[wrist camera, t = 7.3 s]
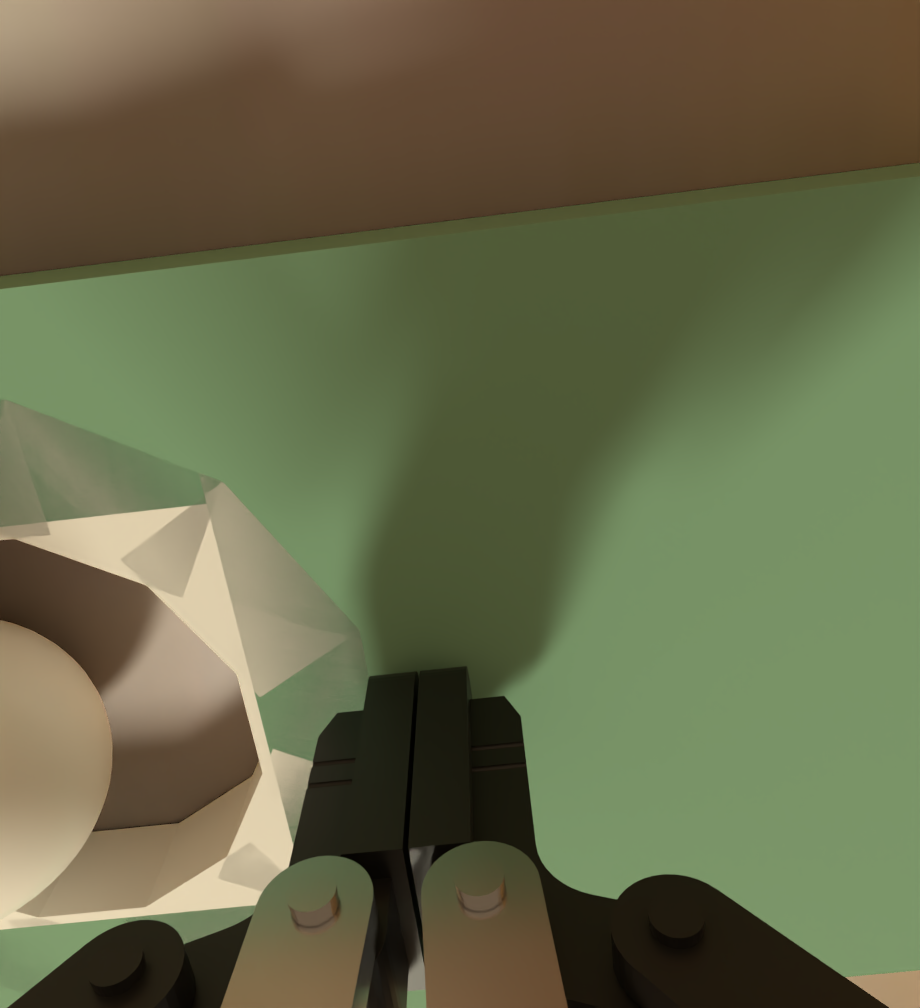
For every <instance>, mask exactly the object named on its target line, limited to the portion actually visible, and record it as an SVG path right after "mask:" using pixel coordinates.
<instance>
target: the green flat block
mask: <svg viewBox="0 0 920 1008" xmlns="http://www.w3.org/2000/svg"><path fill="white" fill-rule="evenodd" d="M9 539H16V540H19V541H22V542H24V543H27V544H30V545H33V546H36V547H39V548H41V549H44V550H47V551H50V552H53V553H56V554H59V555H61V556H64V557H67V558H70V559H73V560H76V561H78V562H81V563H84V564H87V565H90V566H93V567H95V568H98V569H101V570H104V571H107V572H110V573H112V574H115V575H118V576H121V577H124V578H127V579H130V580H132V581H135V582H138V583H141V584H144V585H147V586H148V587H149V588H150V589H151V590H152V591H153V592H154V593H155V594H156V595H157V596H158V597H159V598H160V599H161V600H162V601H163V602H164V603H165V604H166V605H167V606H168V607H169V608H170V609H171V610H172V611H173V612H174V613H175V614H176V615H177V616H178V617H179V618H180V619H181V620H182V621H183V622H184V623H185V624H186V625H187V626H188V627H189V628H190V629H191V630H192V631H193V632H194V633H195V634H196V635H197V636H198V637H199V638H200V639H201V640H202V641H203V642H204V643H206V644H207V645H208V646H209V647H210V648H211V649H212V650H213V651H214V652H215V653H216V654H217V655H218V656H219V657H220V658H221V659H222V660H223V661H224V662H225V663H226V664H227V665H228V666H229V667H230V668H231V669H232V670H233V671H234V672H235V673H236V674H237V678H238V681H239V685H240V689H241V693H242V697H243V700H244V704H245V708H246V712H247V716H248V720H249V723H250V727H251V731H252V735H253V739H254V743H255V746H256V750H257V754H258V758H259V761H258V763H257V766H256V768H255V770H254V773H253V775H252V776H251V777H250V778H248V779H247V780H245V781H244V782H242V783H241V784H239V785H238V786H236V787H234V788H233V789H231V790H230V791H228V792H227V793H225V794H224V795H222V796H220V797H219V798H217V799H216V800H214V801H213V802H211V803H210V804H208V805H206V806H205V807H203V808H202V809H200V810H199V811H197V812H196V813H194V814H192V815H191V816H189V817H188V818H186V819H185V820H183V821H182V822H180V823H175V824H165V825H155V826H146V827H136V828H126V829H116V830H106V831H96V832H91V834H90V835H89V837H88V839H87V840H86V842H85V844H84V845H83V847H82V848H81V850H80V851H79V852H78V854H77V855H76V857H75V858H74V859H73V860H72V862H71V863H70V864H69V865H68V866H67V867H66V869H65V870H64V871H63V872H62V873H61V874H60V875H59V876H58V877H57V878H56V879H55V880H54V881H53V882H52V883H51V884H50V885H49V886H48V887H46V888H45V889H44V890H43V891H42V892H41V893H39V894H38V895H37V896H36V897H35V898H33V899H32V900H30V901H29V902H28V903H26V904H25V905H23V906H22V907H21V908H19V909H17V910H16V911H14V912H12V913H11V914H9V915H7V916H6V917H4V918H2V919H0V1008H7V1007H9V1006H10V1005H11V1004H12V1003H14V1002H15V1001H16V1000H17V999H19V998H20V997H21V996H22V995H24V994H25V993H26V992H27V991H29V990H30V989H31V988H32V987H33V986H35V985H36V984H37V983H38V982H40V981H41V980H42V979H43V978H45V977H46V976H47V975H48V974H50V973H51V972H52V971H53V970H55V969H56V968H57V967H58V966H60V965H61V964H62V963H63V962H64V961H66V960H67V959H68V958H69V957H71V956H72V955H73V954H74V953H76V952H77V951H78V950H79V949H81V948H82V947H83V946H84V945H86V944H87V943H88V942H90V941H91V940H92V939H94V938H95V937H97V936H98V935H100V934H102V933H103V932H105V931H107V930H109V929H111V928H113V927H116V926H118V925H121V924H124V923H127V922H132V921H137V920H156V921H161V922H164V923H167V924H168V925H170V926H172V927H173V928H174V929H175V930H176V931H177V932H178V933H179V935H180V936H181V938H182V940H183V943H184V944H186V943H188V942H191V941H194V940H196V939H199V938H202V937H204V936H207V935H210V934H212V933H215V932H218V931H221V930H223V929H226V928H228V927H231V926H233V925H235V924H238V923H239V922H241V921H243V920H245V919H246V918H248V917H250V916H251V915H253V913H254V910H255V907H256V904H257V902H258V900H259V897H260V895H261V894H262V892H263V891H264V889H265V887H266V886H267V885H268V884H269V883H270V882H271V881H272V879H274V878H275V877H276V876H277V875H278V874H279V873H281V872H282V871H284V870H285V869H287V868H288V867H289V863H290V859H291V854H292V850H293V845H294V841H295V837H296V832H297V828H298V824H299V819H300V815H301V810H302V806H303V802H304V797H305V793H306V789H308V780H309V776H310V771H311V767H313V758H314V754H315V749H316V745H317V741H318V736H319V735H320V734H321V733H322V731H323V730H324V729H325V728H326V726H327V725H328V724H329V723H330V721H331V720H332V719H333V718H334V716H335V715H336V714H337V713H340V712H350V711H360V710H363V709H364V703H365V696H366V690H367V684H368V679H369V677H370V676H375V675H385V674H395V673H405V672H415V671H417V672H418V675H419V674H420V671H423V670H433V669H442V668H452V667H462V666H467V667H468V672H469V679H470V687H471V694H472V699H478V698H488V697H498V696H505V697H506V698H507V700H508V701H509V702H510V703H511V705H512V706H513V707H514V708H515V710H516V711H517V712H518V713H519V715H520V716H521V722H522V730H523V739H524V747H525V756H526V765H527V773H528V782H529V790H530V799H531V807H532V816H533V824H534V833H535V841H536V847H537V852H538V855H539V857H540V859H541V861H542V863H543V864H544V866H545V867H546V869H547V870H548V871H549V872H550V873H551V874H552V875H553V876H554V877H555V878H557V879H558V880H559V881H561V882H562V883H564V884H566V885H567V886H569V887H571V888H573V889H576V890H578V891H581V892H584V893H588V894H592V895H597V896H602V897H607V898H612V899H618V897H619V896H620V895H621V894H622V892H623V891H624V890H625V889H626V888H628V887H629V886H631V885H632V884H633V883H635V882H637V881H639V880H641V879H644V878H647V877H651V876H655V875H662V874H676V875H683V876H688V877H692V878H695V879H698V880H700V881H703V882H705V883H707V884H709V885H711V886H712V887H714V888H716V889H717V890H719V891H720V892H722V893H723V894H725V895H726V896H728V897H729V898H730V899H732V900H733V901H735V902H736V903H738V904H739V905H741V906H742V907H743V908H745V909H746V910H748V911H749V912H751V913H752V914H754V915H755V916H757V917H758V918H759V919H761V920H762V921H764V922H765V923H767V924H768V925H770V926H771V927H773V928H774V929H775V930H777V931H778V932H780V933H781V934H783V935H784V936H786V937H787V938H789V939H790V940H791V941H793V942H794V943H796V944H797V945H799V946H800V947H802V948H803V949H804V950H806V951H807V952H809V953H810V954H812V955H813V956H815V957H816V958H818V959H819V960H820V961H822V962H823V963H825V964H826V965H828V966H829V967H831V968H832V969H834V970H835V971H836V972H838V973H839V974H841V975H842V976H844V977H851V976H862V975H873V974H884V973H895V972H905V971H916V970H920V163H913V164H905V165H897V166H889V167H881V168H873V169H865V170H856V171H848V172H840V173H832V174H824V175H816V176H808V177H800V178H792V179H784V180H775V181H767V182H759V183H751V184H743V185H735V186H727V187H719V188H711V189H703V190H694V191H686V192H678V193H670V194H662V195H654V196H646V197H638V198H630V199H622V200H613V201H605V202H597V203H589V204H581V205H573V206H565V207H557V208H549V209H541V210H532V211H524V212H516V213H508V214H500V215H492V216H484V217H476V218H468V219H459V220H451V221H443V222H435V223H427V224H419V225H411V226H403V227H395V228H387V229H378V230H370V231H362V232H354V233H346V234H338V235H330V236H322V237H314V238H306V239H297V240H289V241H281V242H273V243H265V244H257V245H249V246H241V247H233V248H225V249H216V250H208V251H200V252H192V253H184V254H176V255H168V256H160V257H152V258H144V259H135V260H127V261H119V262H111V263H103V264H95V265H87V266H79V267H71V268H63V269H54V270H46V271H38V272H30V273H22V274H14V275H6V276H0V540H9ZM407 1008H426V990H416V991H407Z"/></svg>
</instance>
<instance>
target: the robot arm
mask: <svg viewBox="0 0 920 1008" xmlns="http://www.w3.org/2000/svg"><path fill="white" fill-rule="evenodd" d="M416 990H426V1008H889V1007H887V1006H886V1005H884V1004H883V1003H881V1002H880V1001H879V1000H877V999H876V998H874V997H873V996H871V995H870V994H868V993H867V992H865V991H864V990H863V989H861V988H860V987H858V986H857V985H855V984H854V983H852V982H851V981H849V980H848V979H847V978H845V977H844V976H842V975H841V974H839V973H838V972H836V971H835V970H834V969H832V968H831V967H829V966H828V965H826V964H825V963H823V962H822V961H820V960H819V959H818V958H816V957H815V956H813V955H812V954H810V953H809V952H807V951H806V950H804V949H803V948H802V947H800V946H799V945H797V944H796V943H794V942H793V941H791V940H790V939H789V938H787V937H786V936H784V935H783V934H781V933H780V932H778V931H777V930H775V929H774V928H773V927H771V926H770V925H768V924H767V923H765V922H764V921H762V920H761V919H759V918H758V917H757V916H755V915H754V914H752V913H751V912H749V911H748V910H746V909H745V908H743V907H742V906H741V905H739V904H738V903H736V902H735V901H733V900H732V899H730V898H729V897H728V896H726V895H725V894H723V893H722V892H720V891H719V890H717V889H716V888H714V887H712V886H711V885H709V884H707V883H705V882H703V881H700V880H698V879H695V878H692V877H688V876H683V875H676V874H662V875H655V876H651V877H647V878H644V879H641V880H639V881H637V882H635V883H633V884H632V885H631V886H629V887H628V888H626V889H625V890H624V891H623V892H622V894H621V895H620V896H619V897H618V899H612V898H607V897H602V896H597V895H592V894H588V893H584V892H581V891H578V890H576V889H573V888H571V887H569V886H567V885H566V884H564V883H562V882H561V881H559V880H558V879H557V878H555V877H554V876H553V875H552V874H551V873H550V872H549V871H548V870H547V869H546V867H545V866H544V864H543V863H542V861H541V859H540V857H539V855H538V852H537V847H536V841H535V833H534V824H533V816H532V807H531V799H530V790H529V782H528V773H527V765H526V756H525V747H524V739H523V730H522V722H521V716H520V715H519V713H518V712H517V711H516V710H515V708H514V707H513V706H512V705H511V703H510V702H509V701H508V700H507V698H506V697H505V696H498V697H488V698H478V699H472V694H471V687H470V679H469V672H468V667H467V666H462V667H452V668H442V669H433V670H423V671H420V674H419V675H418V672H417V671H415V672H405V673H395V674H385V675H375V676H370V677H369V679H368V684H367V690H366V696H365V703H364V709H363V710H360V711H350V712H340V713H337V714H336V715H335V716H334V718H333V719H332V720H331V721H330V723H329V724H328V725H327V726H326V728H325V729H324V730H323V731H322V733H321V734H320V735H319V736H318V741H317V745H316V749H315V754H314V758H313V767H311V771H310V776H309V780H308V789H306V793H305V797H304V802H303V806H302V810H301V815H300V819H299V824H298V828H297V832H296V837H295V841H294V845H293V850H292V854H291V859H290V863H289V867H288V868H287V869H285V870H284V871H282V872H281V873H279V874H278V875H277V876H276V877H275V878H274V879H272V881H271V882H270V883H269V884H268V885H267V886H266V887H265V889H264V891H263V892H262V894H261V895H260V897H259V900H258V902H257V904H256V907H255V910H254V913H253V915H251V916H250V917H248V918H246V919H245V920H243V921H241V922H239V923H238V924H235V925H233V926H231V927H228V928H226V929H223V930H221V931H218V932H215V933H212V934H210V935H207V936H204V937H202V938H199V939H196V940H194V941H191V942H188V943H186V944H184V943H183V940H182V938H181V936H180V935H179V933H178V932H177V931H176V930H175V929H174V928H173V927H172V926H170V925H168V924H167V923H164V922H161V921H156V920H137V921H132V922H127V923H124V924H121V925H118V926H116V927H113V928H111V929H109V930H107V931H105V932H103V933H102V934H100V935H98V936H97V937H95V938H94V939H92V940H91V941H90V942H88V943H87V944H86V945H84V946H83V947H82V948H81V949H79V950H78V951H77V952H76V953H74V954H73V955H72V956H71V957H69V958H68V959H67V960H66V961H64V962H63V963H62V964H61V965H60V966H58V967H57V968H56V969H55V970H53V971H52V972H51V973H50V974H48V975H47V976H46V977H45V978H43V979H42V980H41V981H40V982H38V983H37V984H36V985H35V986H33V987H32V988H31V989H30V990H29V991H27V992H26V993H25V994H24V995H22V996H21V997H20V998H19V999H17V1000H16V1001H15V1002H14V1003H12V1004H11V1005H10V1006H9V1007H7V1008H407V991H416Z"/></svg>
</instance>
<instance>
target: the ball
mask: <svg viewBox="0 0 920 1008" xmlns="http://www.w3.org/2000/svg"><path fill="white" fill-rule="evenodd" d="M112 750H113V744H112V735H111V728H110V724H109V720H108V716H107V713H106V710H105V706H104V704H103V702H102V699H101V697H100V695H99V693H98V691H97V689H96V688H95V686H94V685H93V683H92V681H91V680H90V678H89V677H88V675H87V674H86V672H85V671H84V670H83V669H82V667H81V666H80V665H79V664H78V663H77V662H76V661H75V660H74V659H73V658H72V657H71V656H70V655H69V654H68V653H66V652H65V651H64V650H63V649H62V648H60V647H59V646H58V645H57V644H55V643H54V642H52V641H50V640H48V639H47V638H45V637H43V636H41V635H40V634H38V633H36V632H34V631H32V630H30V629H27V628H25V627H22V626H19V625H17V624H14V623H10V622H6V621H2V620H0V919H2V918H4V917H6V916H7V915H9V914H11V913H12V912H14V911H16V910H17V909H19V908H21V907H22V906H23V905H25V904H26V903H28V902H29V901H30V900H32V899H33V898H35V897H36V896H37V895H38V894H39V893H41V892H42V891H43V890H44V889H45V888H46V887H48V886H49V885H50V884H51V883H52V882H53V881H54V880H55V879H56V878H57V877H58V876H59V875H60V874H61V873H62V872H63V871H64V870H65V869H66V867H67V866H68V865H69V864H70V863H71V862H72V860H73V859H74V858H75V857H76V855H77V854H78V852H79V851H80V850H81V848H82V847H83V845H84V844H85V842H86V840H87V839H88V837H89V835H90V834H91V832H92V830H93V828H94V826H95V824H96V822H97V820H98V817H99V815H100V813H101V811H102V808H103V805H104V802H105V800H106V797H107V793H108V789H109V785H110V779H111V772H112Z"/></svg>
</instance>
